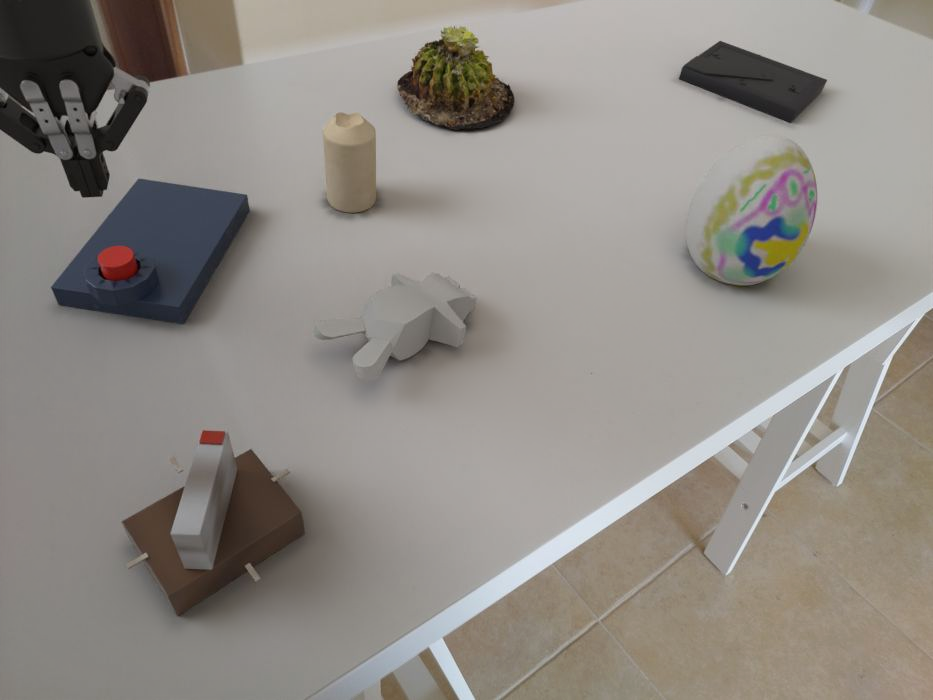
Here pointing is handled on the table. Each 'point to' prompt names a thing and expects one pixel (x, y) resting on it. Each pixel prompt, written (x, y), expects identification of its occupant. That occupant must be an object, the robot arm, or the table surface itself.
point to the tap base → (242, 539)
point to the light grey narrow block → (205, 501)
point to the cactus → (455, 84)
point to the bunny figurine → (404, 321)
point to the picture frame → (753, 80)
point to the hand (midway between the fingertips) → (94, 191)
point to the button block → (156, 251)
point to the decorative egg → (752, 211)
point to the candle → (350, 162)
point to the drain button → (117, 263)
